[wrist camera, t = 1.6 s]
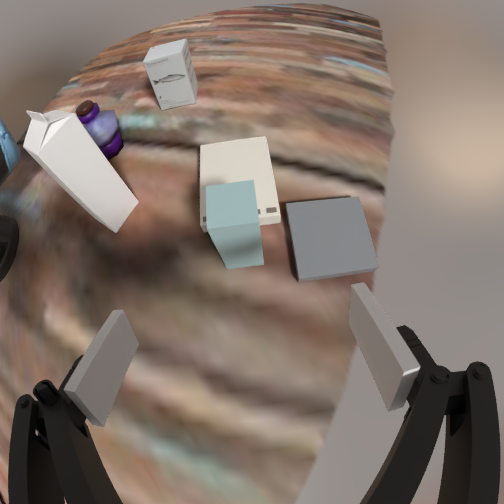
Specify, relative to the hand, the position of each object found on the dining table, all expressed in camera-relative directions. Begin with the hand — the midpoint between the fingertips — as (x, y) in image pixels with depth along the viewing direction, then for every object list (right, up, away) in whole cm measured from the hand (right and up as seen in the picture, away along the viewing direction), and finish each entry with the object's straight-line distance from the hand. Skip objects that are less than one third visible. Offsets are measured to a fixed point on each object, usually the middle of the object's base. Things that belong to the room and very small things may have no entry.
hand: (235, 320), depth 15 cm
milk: (-20, +10, +24) cm, 33 cm away
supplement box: (-14, +35, +33) cm, 50 cm away
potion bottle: (-26, +23, +29) cm, 45 cm away
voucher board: (-1, +13, +23) cm, 27 cm away
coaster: (+11, +5, +19) cm, 23 cm away
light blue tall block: (0, +4, +19) cm, 20 cm away
